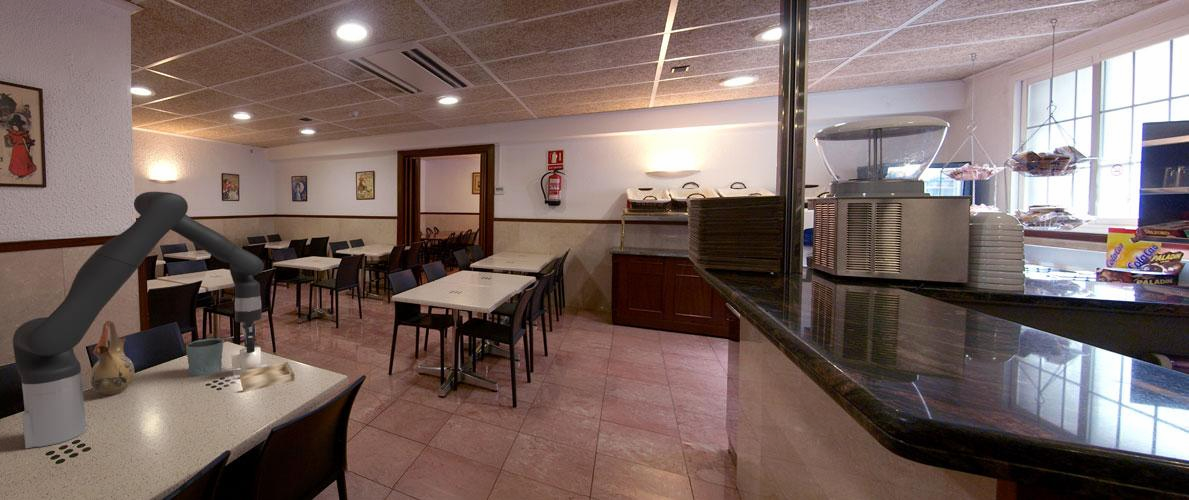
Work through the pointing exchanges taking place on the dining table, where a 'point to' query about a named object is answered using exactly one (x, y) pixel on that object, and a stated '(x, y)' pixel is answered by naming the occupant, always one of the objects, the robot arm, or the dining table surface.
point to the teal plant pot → (204, 356)
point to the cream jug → (247, 359)
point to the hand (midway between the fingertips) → (249, 349)
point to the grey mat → (237, 372)
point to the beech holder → (266, 376)
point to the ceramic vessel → (111, 364)
